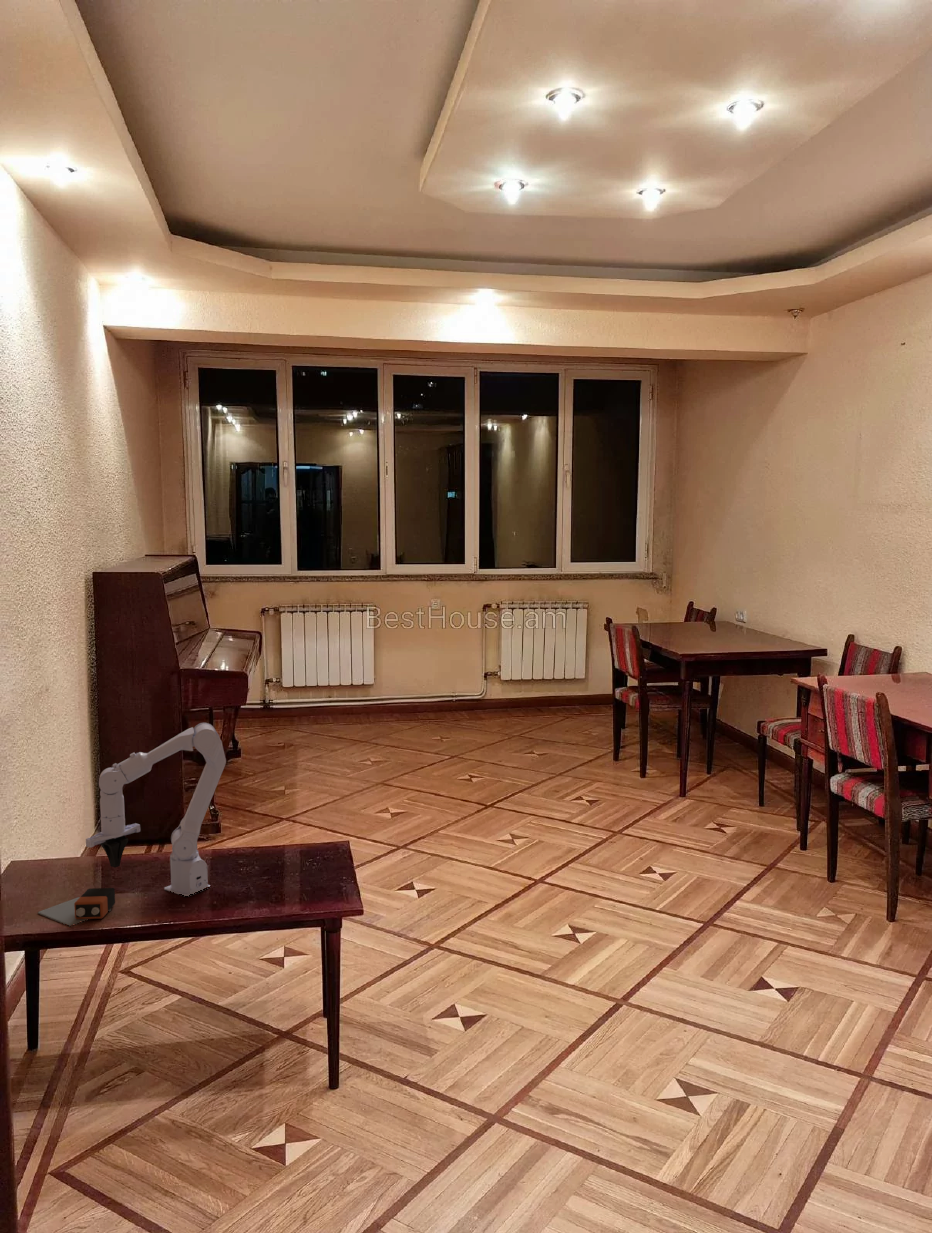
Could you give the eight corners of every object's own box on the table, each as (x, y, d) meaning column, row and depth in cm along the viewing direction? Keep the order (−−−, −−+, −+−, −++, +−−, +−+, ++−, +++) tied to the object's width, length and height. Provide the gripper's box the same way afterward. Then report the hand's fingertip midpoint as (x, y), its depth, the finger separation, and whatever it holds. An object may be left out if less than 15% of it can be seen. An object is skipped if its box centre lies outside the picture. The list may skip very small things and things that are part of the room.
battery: (87, 887, 219) (72, 904, 209) (115, 887, 219) (100, 903, 209) (88, 904, 219) (72, 921, 209) (115, 903, 220) (101, 920, 210)
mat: (111, 910, 216) (111, 909, 216) (70, 926, 207) (70, 925, 207) (78, 898, 224) (78, 896, 224) (37, 913, 215) (37, 911, 215)
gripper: (127, 805, 231) (130, 854, 232) (77, 819, 219) (80, 871, 220) (144, 809, 227) (146, 859, 228) (94, 824, 215) (96, 877, 216)
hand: (115, 866), depth 224 cm, fingers closed
